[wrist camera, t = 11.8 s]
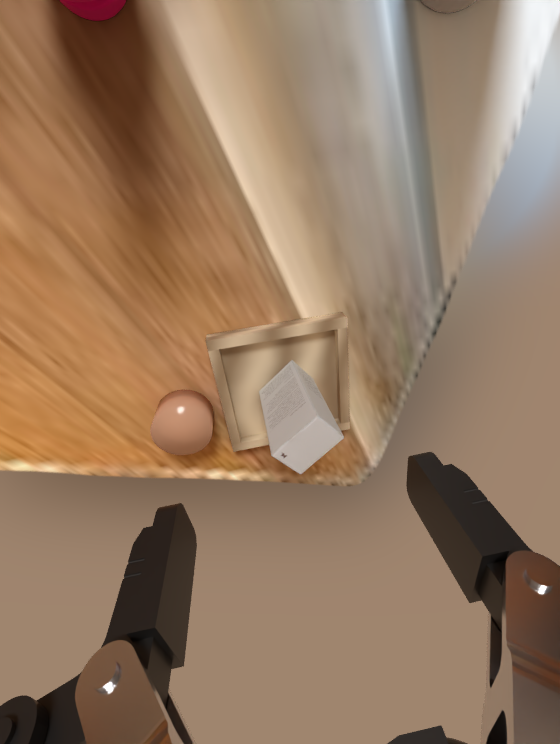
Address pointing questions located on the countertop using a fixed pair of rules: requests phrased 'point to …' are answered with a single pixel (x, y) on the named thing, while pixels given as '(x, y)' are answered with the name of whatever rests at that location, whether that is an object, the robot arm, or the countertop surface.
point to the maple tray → (278, 369)
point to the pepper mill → (94, 8)
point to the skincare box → (297, 419)
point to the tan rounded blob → (183, 422)
